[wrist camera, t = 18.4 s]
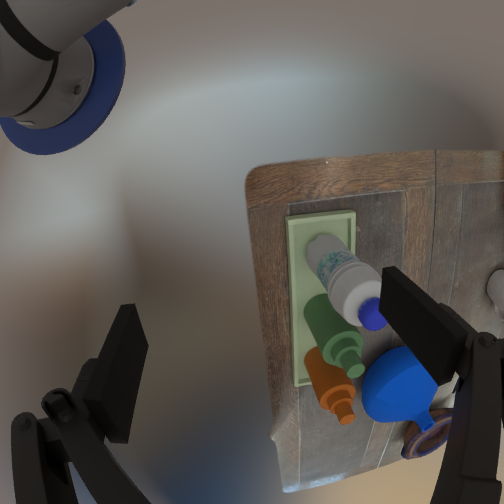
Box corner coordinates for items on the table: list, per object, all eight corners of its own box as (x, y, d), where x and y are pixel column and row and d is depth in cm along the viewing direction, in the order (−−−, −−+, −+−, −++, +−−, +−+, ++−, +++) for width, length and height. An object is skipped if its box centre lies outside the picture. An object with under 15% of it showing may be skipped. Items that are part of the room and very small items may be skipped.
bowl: (454, 393, 72) (470, 414, 63) (430, 430, 78) (442, 450, 69) (411, 404, 69) (427, 430, 60) (387, 442, 76) (399, 465, 67)
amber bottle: (301, 350, 55) (326, 415, 40) (333, 339, 55) (366, 401, 40) (306, 373, 57) (330, 436, 43) (337, 363, 57) (366, 422, 43)
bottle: (327, 276, 50) (382, 353, 31) (293, 259, 48) (338, 337, 30) (349, 240, 48) (418, 304, 29) (315, 222, 46) (377, 282, 28)
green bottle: (300, 300, 51) (330, 363, 36) (336, 288, 51) (377, 346, 36) (306, 329, 53) (335, 394, 39) (340, 318, 53) (378, 377, 39)
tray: (284, 216, 46) (287, 220, 44) (350, 209, 47) (355, 212, 45) (292, 380, 59) (294, 387, 57) (342, 370, 60) (345, 376, 58)
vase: (424, 319, 58) (475, 375, 40) (419, 375, 65) (457, 427, 47) (347, 352, 58) (387, 423, 40) (353, 404, 65) (383, 466, 47)
